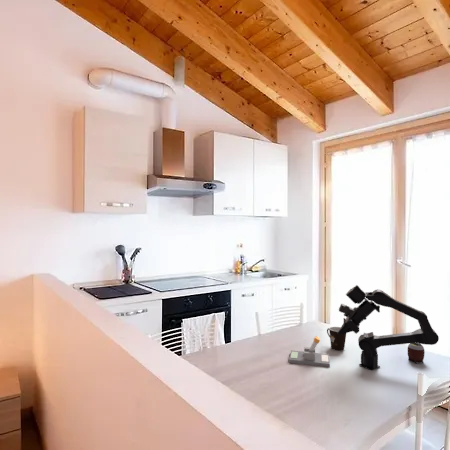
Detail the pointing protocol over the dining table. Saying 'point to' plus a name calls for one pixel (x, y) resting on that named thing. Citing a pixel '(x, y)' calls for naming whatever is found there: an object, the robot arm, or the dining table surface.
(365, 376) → the dining table surface
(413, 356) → the mate gourd
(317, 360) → the switch panel
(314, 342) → the lever
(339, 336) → the coffee mug
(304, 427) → the dining table surface
